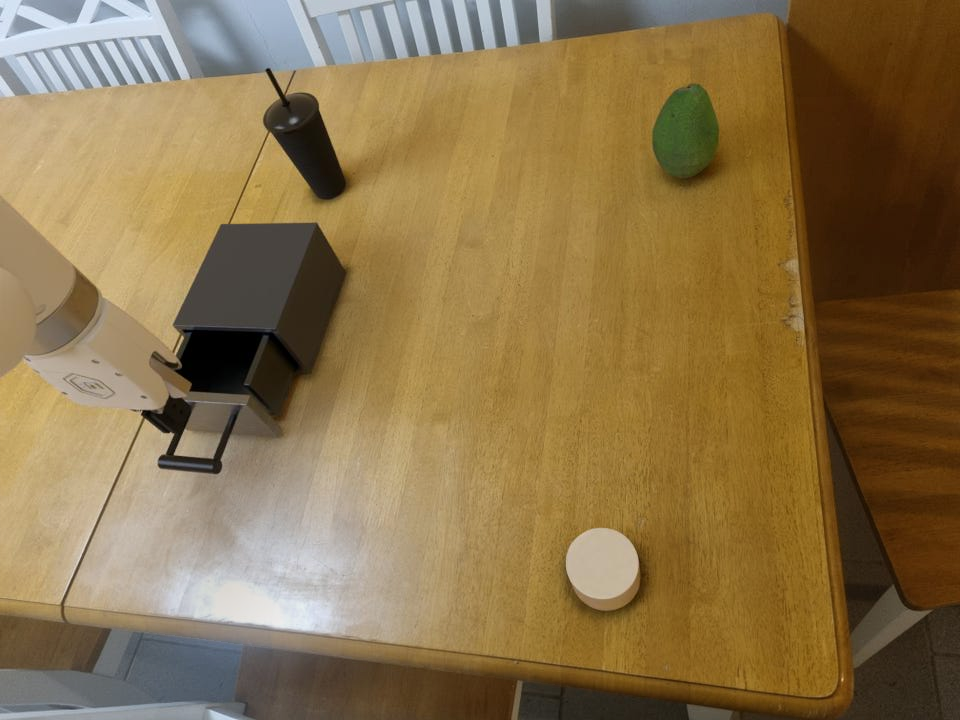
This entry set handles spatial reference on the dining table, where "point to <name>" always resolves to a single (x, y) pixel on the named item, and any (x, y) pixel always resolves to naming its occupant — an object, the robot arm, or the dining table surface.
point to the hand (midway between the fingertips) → (178, 420)
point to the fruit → (686, 132)
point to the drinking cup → (305, 140)
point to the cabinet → (267, 286)
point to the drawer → (230, 390)
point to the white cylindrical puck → (603, 568)
